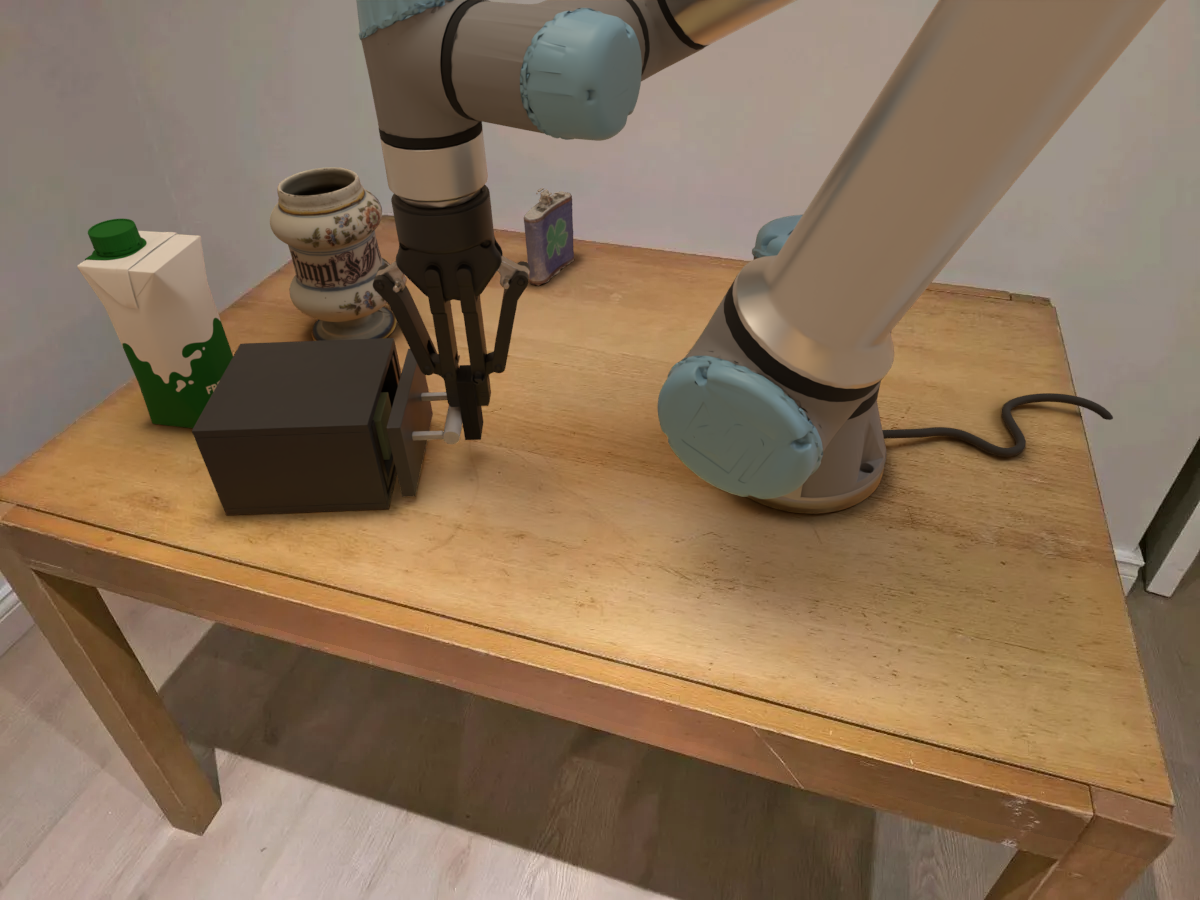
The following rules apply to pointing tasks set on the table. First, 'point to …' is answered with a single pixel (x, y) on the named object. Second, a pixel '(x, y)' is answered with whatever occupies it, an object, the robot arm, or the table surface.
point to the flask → (549, 235)
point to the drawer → (411, 424)
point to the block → (383, 423)
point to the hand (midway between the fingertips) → (474, 430)
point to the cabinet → (298, 427)
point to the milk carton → (160, 315)
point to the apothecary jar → (333, 253)
